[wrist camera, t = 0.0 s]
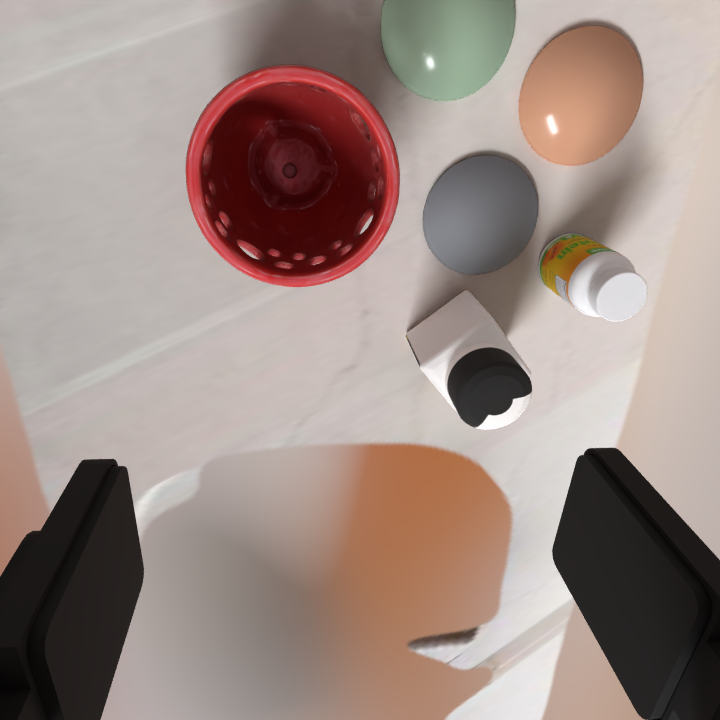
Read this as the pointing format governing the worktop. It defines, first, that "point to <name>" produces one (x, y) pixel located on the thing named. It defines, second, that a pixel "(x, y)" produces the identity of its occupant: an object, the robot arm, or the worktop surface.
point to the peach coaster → (580, 95)
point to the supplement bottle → (592, 277)
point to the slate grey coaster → (480, 214)
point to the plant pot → (292, 175)
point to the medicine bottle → (472, 363)
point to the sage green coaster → (446, 44)
